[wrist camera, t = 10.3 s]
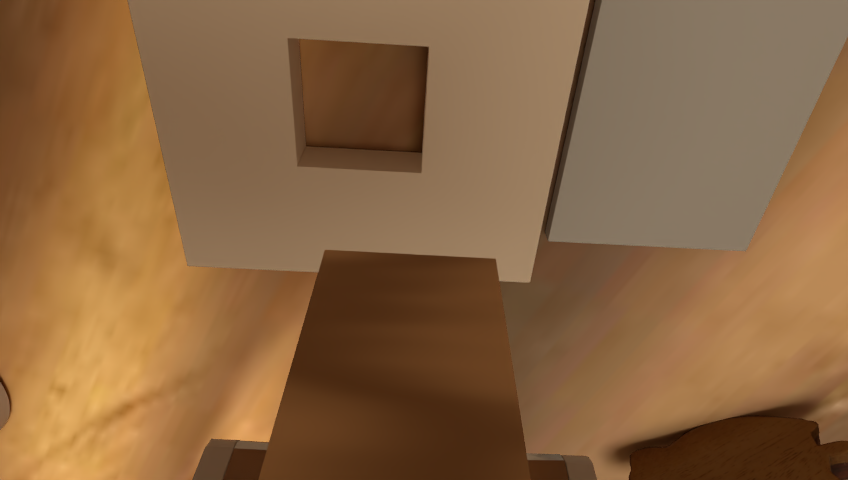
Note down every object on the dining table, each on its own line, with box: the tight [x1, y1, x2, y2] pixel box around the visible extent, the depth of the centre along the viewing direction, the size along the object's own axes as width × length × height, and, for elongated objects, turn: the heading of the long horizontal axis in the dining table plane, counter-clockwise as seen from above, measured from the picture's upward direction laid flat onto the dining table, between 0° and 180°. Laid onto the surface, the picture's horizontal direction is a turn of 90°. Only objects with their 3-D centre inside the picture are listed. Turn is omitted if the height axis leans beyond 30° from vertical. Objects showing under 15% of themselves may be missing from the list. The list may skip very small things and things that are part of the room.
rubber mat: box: [545, 0, 848, 251], centre depth 29 cm, size 12×16×1 cm
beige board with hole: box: [128, 0, 590, 282], centre depth 28 cm, size 20×20×2 cm
